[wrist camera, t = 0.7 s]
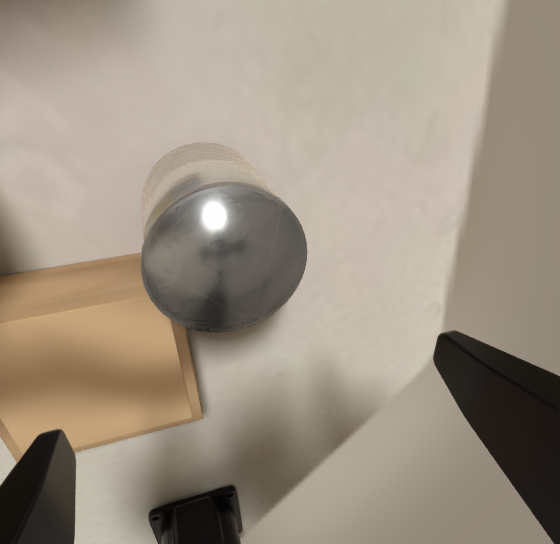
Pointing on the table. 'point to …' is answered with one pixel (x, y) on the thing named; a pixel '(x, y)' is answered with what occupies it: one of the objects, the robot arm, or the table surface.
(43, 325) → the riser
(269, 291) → the tin
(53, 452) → the robot arm
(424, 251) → the table surface
